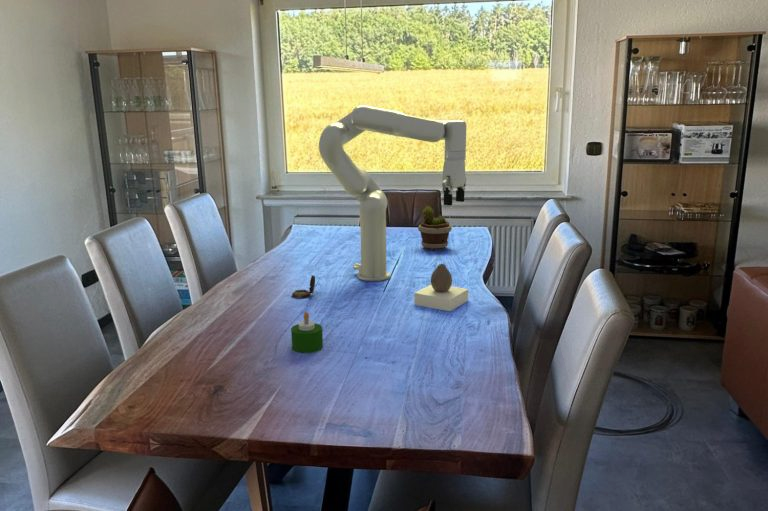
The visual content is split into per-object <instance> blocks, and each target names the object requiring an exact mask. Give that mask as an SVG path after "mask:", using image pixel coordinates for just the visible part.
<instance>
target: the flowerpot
mask: <svg viewBox="0 0 768 511" xmlns="http://www.w3.org/2000/svg"><path fill="white" fill-rule="evenodd" d="M434 211H435V209H434V208H433V207H431V206H430V205H425V206H424V209H422V219H423V220H422V221H421V222H420V224H418V228H417V229H418V232H420V236H421V243H420V245H421V246H422V247H423V249H425V250H426V251H427V250H428V251H442V250H443V251H444V250H445V249H446V248H447V247H448V245H449V241H448V239H449V237H450V236H449V235H450V232H452V229H453V227H452V225H451V224H450V222H449V221H448V220H446V218H445V217H444V215H442V214H439V216H437V217H436V218H435V214H436V213H435V212H434Z"/></svg>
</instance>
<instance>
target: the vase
mask: <svg viewBox="0 0 768 511" xmlns="http://www.w3.org/2000/svg"><path fill="white" fill-rule="evenodd" d="M452 284H453V277H452V274H451V272H450V270H449V269H448V268H447V265H446V264H444V263H439V264H438V265H437V266H436V268H435V269H434V270H433V271H432V274H431V276H430V285H432V288H433V289H434V290H435V291H436V292H441V293H442V292H447V291H448V290H449V289H450V287H451V286H453V285H452Z"/></svg>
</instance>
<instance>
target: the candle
mask: <svg viewBox="0 0 768 511" xmlns="http://www.w3.org/2000/svg"><path fill="white" fill-rule="evenodd" d="M309 318H310V315H309V313H308V312H307V311H306V312H305V311H304V314H303V321H299V322H298V323H297V324H294V325H293V326H292V327H291V330H290V331H291V332H290V333H291V334H290V335H291V336H290V337H291V349H292V350H293V351H294V353H295V352H296V353H299V354H300V353H302V354H310V353H311V354H312V353H316V352H320V350H322V349H323V347H324V346H323V345H324V344H323V342H324V341H323V326H322V325H321V324H319V323H315V321H313V320H309Z"/></svg>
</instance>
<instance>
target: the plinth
mask: <svg viewBox="0 0 768 511" xmlns="http://www.w3.org/2000/svg"><path fill="white" fill-rule="evenodd" d="M413 299H414V305H415V306H419V307H426V308H430V309H435V310H441V311H446V312H451V311H454V310H455V309H457V308H459V307H460V306H462V305H464V304H465V303H466V302H468V301H469V288H464V287H459V286H453V285H451V287H450V289H449V290H448V291H447V292H442V293H441V292H436V291H435V290H434V289H433V288H432V285H431V284H429V285H427V286H425V287H423V288H422V289H419V290H418V291H415V292H414V298H413Z"/></svg>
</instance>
